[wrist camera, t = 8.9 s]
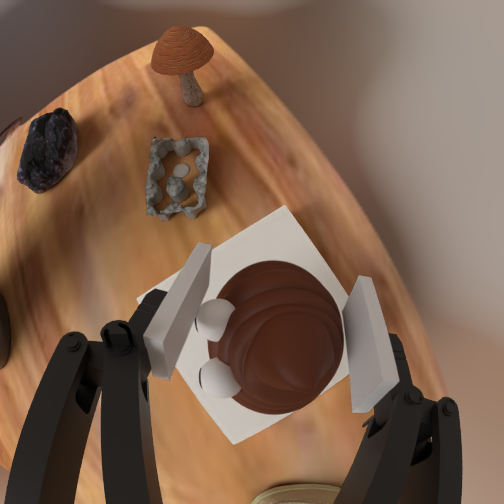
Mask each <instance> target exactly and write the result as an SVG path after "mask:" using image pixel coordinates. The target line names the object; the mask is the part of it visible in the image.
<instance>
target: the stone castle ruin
mask: <svg viewBox="0 0 504 504" xmlns="http://www.w3.org/2000/svg"><path fill="white" fill-rule="evenodd" d="M193 148H199V150H200V152H201V153H200V154H199V155H197V157H196V162H195V164H196V166H197V169H198V171H199V173H200V174H201V175H200V176H199V177H196V178H195V182H194V184H193V188H194V190H195V191H196V193H197V199H198V200H199V202H198V204H197V205H196V206H195V207H189V206H186V207H185V208H183V206H182V205H179V204H177V203H180V202H183V201H184V200H186V199H187V197H188V195H189V192H188V189H187V187H186V184H185V183H184V181H183V180H182V179H181V178H184V177H185V176H187V175H188V173H189V171H190V168H189V166H188V165H187V164H185V163H180V164H178V165H176V166H175V168H174V170H173V175H174V176H175V177H173V176H170V177H169V178H168V179H167V189H166V190H167V193H168V194H169V196H170V197H171V199H172V200H173V201H174V203H173V202H171V204H170V205H169V206H166V208H165V210H160V214H158V213H157V212H156V210H155V209H154V205H155V204H157V203H159V202H160V201H161V200H162V197H163V193H162V190H161V189H160V187H159V186H158V184H157V183H156V181H158V180H160V179H162V178H163V176H164V175H165V169H164V167H163V165H162V163H161V161H160V159H162V158H163V157H165V156H166V154H167V153H168V151H175V153H176V155H178V156H186V155H188V154H189V153H190V152H191V150H192V149H193ZM149 160H150V163H149V167H148V176H147V183H146V187H145V189H146V204H147V210H146V213H147V215H148V214H150V215H152V216H158V217H159V218H160V219H161V220H162V221H168V220H169V219H170V216H171V215H172V213H174V212H179V211H183V212H184V213H185V215H186V216H187V218H188V219H196V217H197V214H198V213H199V212H200V211H201V210H204V209H206V200H205V198H204V195H205V190H206V187H205V186H206V184H207V176H206V175H207V167H208V160H209V143H208V141H207V140H206V138H205V137H195V138H186V137H185V138H183V140H179V141H174V140H173V139H171V138H162V139H161V138H156V137H154V138H153V142H152V144H151V149H150V156H149ZM175 202H177V203H175Z"/></svg>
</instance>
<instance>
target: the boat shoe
mask: <svg viewBox="0 0 504 504" xmlns="http://www.w3.org/2000/svg"><path fill="white" fill-rule="evenodd" d="M340 489H341V487H337V486H333V485H326V484H294V485H285V486H279V487H274V488H271V489H268V490H266V491H264V492H262V493H260V494H259V495H258V496H257V497H256V498H255V499H254V500H253V501H252V503H251V504H333V503H334V501H335V499H336V497H337V495H338V493H339V491H340Z"/></svg>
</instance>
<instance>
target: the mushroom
mask: <svg viewBox="0 0 504 504" xmlns="http://www.w3.org/2000/svg"><path fill="white" fill-rule="evenodd" d="M213 54H214V49H213V47H212V45H211V44H210V43H209V41H208V40H207V39H206V38H205V37H204V36H203V35H202V34H201V33H199V32H197V31H196V30H194V29H192V28H189V27H186V26H180V25H178V26H173V27H171V28H170V29H168V30H167V31H166V32H165V33H164V34H163V35H162V37H161V38H160V39H159V41H158V42H157V44H156V46H155V48H154V51H153V55H152V60H151V67H152V69H153V70H154V71H155V72H157V73H160V74H164V75H178V76H179V78H180V81H181V86H182V93H183V100H184V102H185V103H186V104H187V105H188V106H191V107H196V106H199V105H200V103H202V101H203V91H202V90H201V88H200V86H199V84H198V82H197V80H196V79H195V77H194V73H193V71H194V70H196V69H199V68H200V67H202V66H203V65H205V64H206V63H207V62H208V61H209V60H210V59H211V58H212V56H213Z"/></svg>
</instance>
